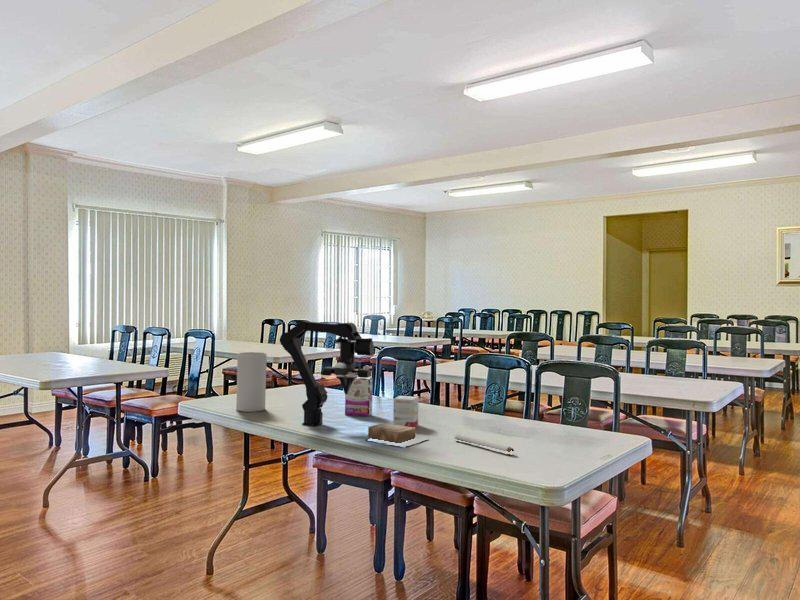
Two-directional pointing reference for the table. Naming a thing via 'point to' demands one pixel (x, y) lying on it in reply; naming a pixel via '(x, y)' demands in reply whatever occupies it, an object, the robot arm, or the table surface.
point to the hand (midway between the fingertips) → (346, 394)
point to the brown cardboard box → (391, 432)
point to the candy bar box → (359, 397)
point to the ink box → (405, 411)
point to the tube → (482, 442)
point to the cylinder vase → (251, 381)
